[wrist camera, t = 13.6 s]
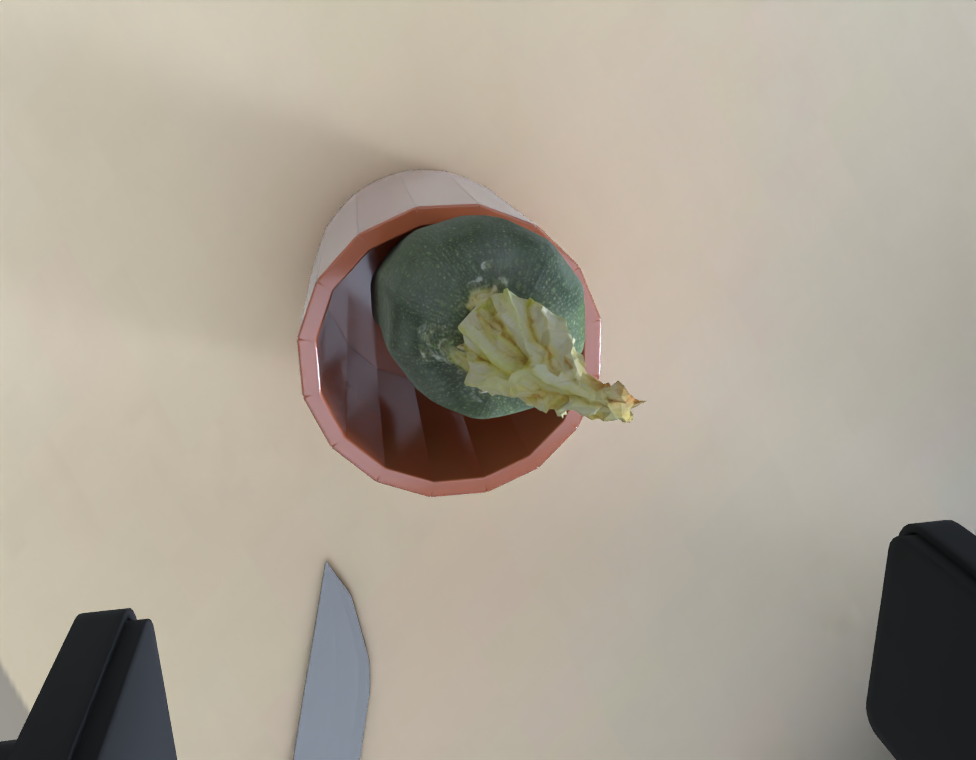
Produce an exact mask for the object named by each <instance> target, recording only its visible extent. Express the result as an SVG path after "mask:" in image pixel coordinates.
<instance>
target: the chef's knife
mask: <svg viewBox="0 0 976 760" xmlns="http://www.w3.org/2000/svg"><path fill="white" fill-rule="evenodd" d="M369 693H370V678H369V658H368V654H367V651H366V647H365V643H364V640H363V636H362V632H361V629H360V625H359V622H358V618H357V615H356V611H355V608H354V604H353V601H352V597H351V595H350V594H349V592H348V591H347V589H346V588H345V587H344V585H343V584H342V582H341V581H340V580H339V578H338V577H337V576H336V574H335V573H334V571H333V570H332V569H331V567H330V566H329V564H328V563H327V562H326V563H325V569H324V576H323V582H322V588H321V594H320V600H319V606H318V612H317V618H316V624H315V629H314V635H313V641H312V647H311V653H310V658H309V664H308V670H307V676H306V682H305V688H304V694H303V701H302V707H301V713H300V719H299V726H298V732H297V738H296V744H295V750H294V757H293V760H360V756H361V749H362V742H363V735H364V728H365V721H366V714H367V707H368V700H369Z"/></svg>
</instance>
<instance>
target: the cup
mask: <svg viewBox="0 0 976 760" xmlns="http://www.w3.org/2000/svg"><path fill="white" fill-rule="evenodd" d="M466 215H488V216H494V217H500V218H503V219H506V220H508V221H511V222H513V223H515V224H517V225H520V226H522V227H524V228H526V229H528V230H530V231H532V232H534V233H536V234H538V235H541V236H542V237H544V238H546V239H548V240H549V241H550V242H551V243H552V244H553V245H554V246H555V247H556V248H557V250H558V251H559V252H560V254H561V255H562V257H563V258H564V259H565V261H566V262H567V263H568V265H569V266H570V268H571V269H572V270H573V272H574V273H575V274H576V276H577V277H578V278H579V280H580V281H581V283H582V285H583V290H584V302H585V342H584V347H583V351H582V353H581V354H582V355H583V357H584V362H585V364H586V365H585V370H586V372H587V373H588V374H589V375H591V376H593V377H594V378H596V379H597V380H598V379H599V375H600V353H601V320H600V315H599V313H598V311H597V308H596V306H595V303H594V301H593V298H592V296H591V294H590V291H589V289H588V286H587V284H586V281H585V279H584V276H583V274H582V272H581V269H580V268H579V267H578V264H576V263H575V262H574V261H573V260H572V259H571V258H570V257H569V256H568V255H567V254H566V253H565V252H564V251H563V250H562V249H561V248H560V247H559V246H558V245H557V244H556V243H555V242H554V241H553V240H552V239H551V238H550V237H549V236H548V235H546V234H545V233H544V232H543V231H542V230H541V229H540V228H539V227H538V226H537V225H536V224H534V223H533V222H532V221H530V220H529V219H528V218H526V217H525V216H524V215H522V214H521V213H520V212H519V211H517V210H516V209H515V208H513V207H512V206H511V205H509V204H508V203H507V202H506V201H504V200H503V199H502V198H500V197H499V196H498V195H496V194H495V193H494V192H492V191H491V190H490V189H489V188H487V187H486V186H483V185H480V184H478V183H476V182H473V181H471V180H469V179H467V178H465V177H462V176H459V175H456V174H452V173H449V172H446V171H445V172H444V171H437V170H413V171H404V172H400V173H396V174H392V175H389V176H386V177H384V178H381V179H379V180H376V181H375V182H373V183H371V184H369V185H367V186H366V187H364V188H362V189H361V190H360V191H358V192H357V193H356V194H355V195H353V196H352V197H351V198H350V199H349V200H348V201H347V202H346V203H345V204H344V205H343V206H342V207H341V208H340V209H339V211H338V212H337V213H336V214H335V216H334V217H333V218H332V220H331V222H330V223H329V224H328V225H327V228H325V231H324V234H323V237H322V240H321V243H320V245H319V249H318V253H317V256H316V259H315V262H314V265H313V268H312V272H311V277H310V282H309V286H308V291H307V295H306V300H305V305H304V309H303V314H302V318H301V323H300V328H299V332H298V339H297V345H298V355H299V365H300V375H301V385H302V395H303V396H304V400H305V402H306V404H307V405H308V407H309V409H310V411H311V413H312V414H313V416H314V418H315V420H316V421H317V423H318V425H319V427H320V428H321V430H322V432H323V434H324V436H325V437H326V439H327V441H328V443H329V444H330V446H332V448H333V449H334V450H336V451H337V452H338V453H340V454H341V455H342V456H343V457H345V458H346V459H347V460H349V461H350V462H351V463H353V464H354V465H355V466H356V467H358V468H359V469H360V470H362V471H363V472H364V473H366V474H367V475H368V476H369V477H371V478H372V479H373V480H375V481H376V480H377V482H379V483H382V484H386V485H390V486H393V487H397V488H400V489H404V490H407V491H411V492H414V493H418V494H421V495H425V496H429V497H430V496H431V497H436V496H448V495H459V494H470V493H482V492H486V491H490V490H493V489H495V488H497V487H499V486H501V485H503V484H505V483H507V482H510V481H512V480H514V479H516V478H518V477H520V476H522V475H524V474H526V473H529V472H531V471H533V470H535V469H537V468H538V467H540V466H541V465H542V464H543V463H544V462H545V461H546V460H547V459H548V458H549V457H550V455H551V454H552V453H553V452H554V451H555V450H556V449H557V448H558V447H559V446H560V445H561V444H562V443H563V442H564V441H565V440H566V439H567V438H568V437H569V436H570V435H571V434H572V433H573V432H574V431H575V430H576V429H577V427H578V426H579V424H580V421H581V419H582V417H583V416H581V415H580V414H579V413H578V412H577V411H574V410H567V411H566V413H567V415H563V418H562V417H561V416H557V414H556V411H555V410H554V409H549V410H548V412H547V413H545V412H543V411H540V410H538V409H537V408H535V407H534V408H531V409H527V410H524V411H521V412H517V413H513V414H509V415H505V416H500V417H495V418H489V419H476V418H471V417H468V416H465V415H463V414H460V413H457V412H455V411H452V410H450V409H447V408H445V407H443V406H441V405H439V404H437V403H435V402H433V401H432V400H430V399H429V398H427V397H426V396H425V395H424V394H422V393H421V392H420V391H419V390H417V389H416V388H415V386H414V385H413V384H412V383H411V381H410V380H409V379H408V377H407V376H406V375H405V373H404V372H403V371H402V369H401V368H400V367H399V365H398V364H397V363H396V362H395V360H394V359H393V358H392V356H391V355H390V353H389V351H388V349H387V347H386V344H385V341H384V338H383V334H382V330H381V327H380V326H379V325H378V324H377V323H376V321H375V320H374V318H373V315H372V306H371V292H370V285H371V279H372V275H373V274H374V272H375V271H376V269H377V268H378V267H379V265H380V264H381V262H382V261H383V260H384V258H385V257H386V255H387V254H388V253H389V251H390V250H391V248H393V247H394V246H395V245H396V244H397V243H398V242H399V241H400V240H401V239H402V238H404V237H405V236H407V235H409V234H411V233H412V232H414V231H415V230H417V229H420V228H423V227H427V226H430V225H433V224H436V223H439V222H442V221H445V220H449V219H452V218H455V217H459V216H466Z"/></svg>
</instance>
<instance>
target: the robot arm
mask: <svg viewBox="0 0 976 760" xmlns="http://www.w3.org/2000/svg"><path fill="white" fill-rule="evenodd" d="M866 710H867V716H868V720H869V723H870V725H871V727H872V729H873V731H874V732H875V734H876V735H877V737H878V738H879V739H880V740H881V742H882V743H883V744H884V745H885V746H886V748H887V749H888V750H889V751H890V753H891V754H892V755H893V756H894V757H895V759H896V760H976V536H975V535H974V534H972V533H971V532H970V531H968V530H967V529H965V528H964V527H963V526H961V525H960V524H958V523H956V522H954V521H952V520H942V521H933V522H923V523H914V524H908V525H906V526H904V527H903V529H902V530H901V531H900V533H899V536H897V537H895V538H893V539H892V541H891V542H890V545H889V549H888V556H887V563H886V570H885V577H884V584H883V591H882V598H881V605H880V611H879V618H878V625H877V632H876V639H875V646H874V653H873V660H872V667H871V674H870V680H869V687H868V694H867V701H866ZM0 760H177V756H176V750H175V744H174V739H173V733H172V727H171V722H170V716H169V710H168V705H167V699H166V693H165V688H164V682H163V676H162V671H161V665H160V659H159V654H158V648H157V642H156V636H155V631H154V627H153V623H152V621H151V620H150V619H142V620H137V619H136V616H135V614H134V611H133V610H132V609H131V608H126V609H117V610H108V611H99V612H89V613H81V614H79V615H78V616H77V617H76V619H75V620H74V622H73V624H72V626H71V628H70V631H69V633H68V635H67V637H66V639H65V641H64V643H63V645H62V647H61V649H60V651H59V653H58V655H57V658H56V660H55V662H54V664H53V666H52V668H51V670H50V672H49V674H48V676H47V678H46V680H45V683H44V685H43V687H42V689H41V691H40V693H39V695H38V697H37V699H36V701H35V703H34V705H33V708H32V710H31V712H30V714H29V716H28V718H27V720H26V722H25V724H24V727H23V729H22V730H21V732H20V735H19V737H18V739H17V740H10V741H2V742H0Z"/></svg>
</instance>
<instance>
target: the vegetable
mask: <svg viewBox="0 0 976 760" xmlns="http://www.w3.org/2000/svg"><path fill="white" fill-rule="evenodd" d="M370 292H371V306H372V315H373V318H374V320H375V321H376V323H377V324H378V325H379V326H380V327H381V330H382V334H383V338H384V341H385V344H386V347H387V349H388V351H389V353H390V355H391V356H392V358H393V359H394V360H395V362H396V363H397V364H398V365H399V367H400V368H401V369H402V371H403V372H404V373H405V375H406V376H407V377H408V379H409V380H410V381H411V383H412V384H413V385H414V386H415V388H416V389H417V390H419V391H420V392H421V393H422V394H424V395H425V396H426V397H427V398H429V399H430V400H432V401H433V402H435V403H437V404H439V405H441V406H443V407H445V408H447V409H450V410H452V411H455V412H457V413H460V414H463V415H465V416H468V417H471V418H476V419H489V418H495V417H500V416H505V415H509V414H513V413H517V412H521V411H524V410H527V409H531V408H534V407H535V408H537V409H538V410H540V411H543V412H545V413H547V412H548V410H549V409H554V410H555V411H556V414H557V416H561V417H562V418H563V415H567V413H566V411H567V410H574V411H577V412H578V413H579V414H580V415H581V416H586V417H588V418H589V419H591V420H594V419H599V418H600V419H601V420H602V421H613V420H618V419H620V420H621V421H622V422H624V423H625V422H630V420H633V414H632V412H631V411H630V409H631V408H633V407H636V406H638V405H640V404H642V403H644V402H645V401H639V400H637V399H635V398H634V397H633V396H632V395H630V394H629V393H628V391H627V390H626V388H625V386H624V385H622V384H621V383H620V382H619V381H617V382H616V383H614V384H613V385H612V386H610V384H609V383H606V384H603V383H602V382H600V381H599V380H597V379H596V378H594V377H593V376H591V375H589V374H588V373H587V372H586V370H585V365H586V364H585V362H584V357H583V355H582V354H581V353H582V351H583V347H584V342H585V302H584V290H583V285H582V283H581V281H580V280H579V278H578V277H577V276H576V274H575V273H574V272H573V270H572V269H571V268H570V266H569V265H568V263H567V262H566V261H565V259H564V258H563V257H562V255H561V254H560V252H559V251H558V250H557V248H556V247H555V246H554V245H553V244H552V243H551V242H550V241H549V240H548V239H546V238H544V237H542V236H541V235H538V234H536V233H534V232H532V231H530V230H528V229H526V228H524V227H522V226H520V225H517V224H515V223H513V222H511V221H508V220H506V219H503V218H500V217H494V216H488V215H466V216H459V217H455V218H452V219H449V220H445V221H442V222H439V223H436V224H433V225H430V226H427V227H423V228H420V229H417V230H415V231H414V232H412V233H411V234H409V235H407V236H405V237H404V238H402V239H401V240H400V241H399V242H398V243H397V244H396V245H395V246H394V247H393V248H391V250H390V251H389V253H388V254H387V255H386V257H385V258H384V260H383V261H382V262H381V264H380V265H379V267H378V268H377V269H376V271H375V272H374V274H373V275H372V279H371V285H370Z"/></svg>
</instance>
